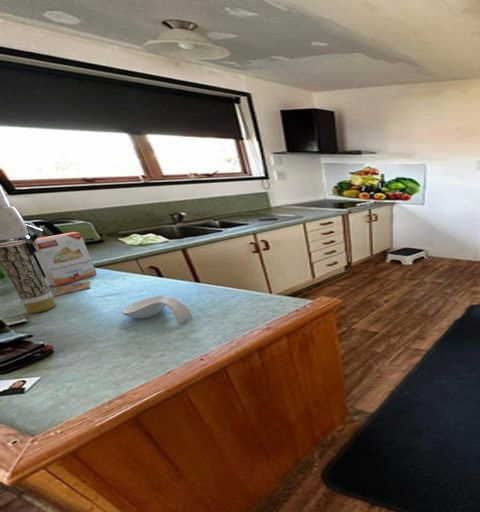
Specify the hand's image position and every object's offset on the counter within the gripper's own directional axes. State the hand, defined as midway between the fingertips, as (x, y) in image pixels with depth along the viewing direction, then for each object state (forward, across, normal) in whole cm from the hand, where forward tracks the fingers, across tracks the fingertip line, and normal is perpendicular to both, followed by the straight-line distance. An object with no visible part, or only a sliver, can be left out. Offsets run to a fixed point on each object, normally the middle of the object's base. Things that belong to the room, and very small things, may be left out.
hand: (16, 256), depth 91 cm
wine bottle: (+20, -4, +53) cm, 57 cm away
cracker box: (+20, +7, +31) cm, 38 cm away
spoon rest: (+20, +29, -40) cm, 53 cm away
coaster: (+20, +7, +17) cm, 27 cm away
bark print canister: (+20, 0, 0) cm, 20 cm away
